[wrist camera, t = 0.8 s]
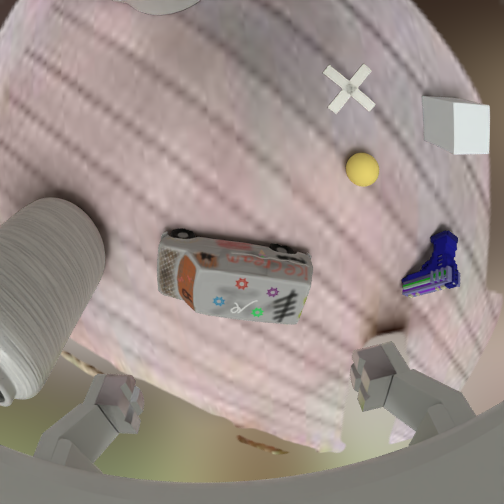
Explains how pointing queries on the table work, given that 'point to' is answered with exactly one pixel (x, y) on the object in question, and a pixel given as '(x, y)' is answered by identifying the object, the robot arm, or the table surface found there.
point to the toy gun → (435, 268)
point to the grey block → (456, 124)
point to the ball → (362, 169)
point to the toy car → (234, 277)
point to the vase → (43, 289)
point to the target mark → (349, 88)
